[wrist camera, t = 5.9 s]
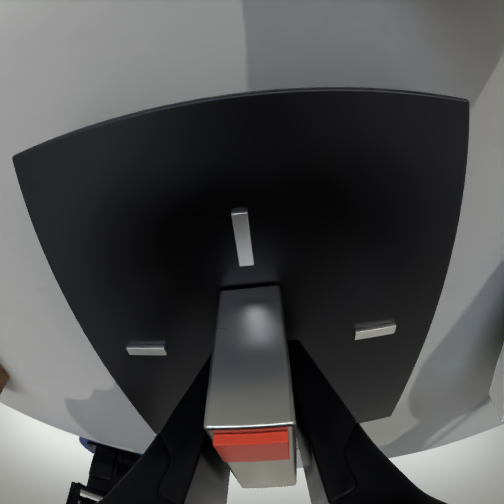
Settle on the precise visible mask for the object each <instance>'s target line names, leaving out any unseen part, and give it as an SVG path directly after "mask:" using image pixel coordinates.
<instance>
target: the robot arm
mask: <svg viewBox="0 0 504 504" xmlns="http://www.w3.org/2000/svg"><path fill="white" fill-rule="evenodd" d="M287 344H288V352H289V361H290V370H291V379H292V388H293V397H294V406H295V416H296V437H297V441H298V445H299V450H300V454H301V459H302V463H303V468H304V472H305V477H306V481H307V486H308V490H309V495H310V499H311V503H312V504H447V503H445V502H442V501H440V500H438V499H436V498H433V497H431V496H429V495H428V494H426V493H424V492H423V491H422V490H420V489H419V488H418V487H416V486H415V485H414V484H413V483H412V482H411V481H410V480H409V479H408V478H407V477H406V476H405V475H404V474H403V473H402V472H401V471H400V470H399V469H398V468H397V467H396V466H395V465H394V464H393V463H392V462H391V461H390V460H389V459H388V458H387V457H386V456H385V455H384V454H383V453H382V452H381V451H380V449H379V448H378V447H377V446H376V445H375V444H374V443H373V441H372V440H371V439H370V438H369V436H368V435H367V434H366V432H365V431H364V430H363V428H362V427H361V426H360V424H359V423H357V420H356V419H355V418H354V416H353V415H352V413H351V412H350V411H349V409H348V408H347V406H346V405H345V404H344V402H343V401H342V399H341V398H340V397H339V395H338V394H337V393H336V391H335V390H334V388H333V387H332V386H331V384H330V383H329V381H328V380H327V379H326V377H325V376H324V374H323V373H322V372H321V370H320V369H319V367H318V366H317V365H316V363H315V362H314V360H313V359H312V358H311V356H310V355H309V353H308V352H307V350H306V349H305V348H304V346H303V345H302V343H301V342H300V341H299V340H298V339H295V340H287ZM211 356H212V353H211V355H210V356H209V358H208V359H207V361H206V362H205V364H204V365H203V367H202V369H201V370H200V372H199V373H198V375H197V376H196V378H195V379H194V381H193V382H192V384H191V385H190V387H189V388H188V390H187V391H186V393H185V394H184V396H183V397H182V399H181V400H180V402H179V403H178V405H177V406H176V408H175V409H174V411H173V412H172V414H171V415H170V417H169V418H168V420H167V421H166V423H165V424H164V426H163V427H162V428H161V430H160V432H159V433H160V434H157V436H156V437H155V439H154V440H153V442H152V443H151V444H150V446H149V447H148V448H147V450H146V451H145V453H144V454H143V455H142V456H139V455H138V454H137V453H136V452H132V451H128V450H124V449H120V448H116V447H112V446H109V445H105V444H100V443H95V442H90V441H88V442H87V445H88V446H89V447H90V448H91V449H93V450H94V451H95V452H94V456H93V460H92V463H91V467H90V471H89V479H88V483H87V486H84V485H82V484H81V483H75V482H72V483H71V487H70V492H69V495H68V499H67V502H66V504H79V503H80V504H226V503H227V494H228V485H229V475H230V469H229V467H228V466H227V464H226V463H225V462H223V460H222V459H221V457H220V455H219V454H218V452H217V451H216V449H215V448H214V446H213V442H212V441H211V439H210V437H209V436H208V434H207V432H206V431H205V429H204V418H205V409H206V400H207V391H208V382H209V373H210V364H211ZM80 493H83V494H85V495H88V496H91V497H93V498H96V499H99V500H100V501H98V502H97V501H95V500H92V499H89V498H87V497H86V498H85V497H82V496H80Z"/></svg>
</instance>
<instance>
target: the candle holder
mask: <svg viewBox="0 0 504 504" xmlns="http://www.w3.org/2000/svg"><path fill="white" fill-rule="evenodd" d="M489 395H490V397H491V399H492V401H493V403H494V405H495V407H496V410H497V412H498V414H499V416H500V418H501V421H503V422H504V343H503V346H502V349H501V352H500V355H499V358H498V361H497V364H496V368H495V372H494V376H493V380H492V383H491V387H490V390H489Z"/></svg>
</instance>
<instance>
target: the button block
mask: <svg viewBox="0 0 504 504" xmlns="http://www.w3.org/2000/svg"><path fill="white" fill-rule="evenodd" d="M8 379H9V375H8V374H7V373H6V372H5V371H4V369H3V368H2V367H1V366H0V394H1V392H2V390H3V388H4V386H5V384H6V383H7V381H8Z"/></svg>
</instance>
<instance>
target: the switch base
mask: <svg viewBox="0 0 504 504" xmlns="http://www.w3.org/2000/svg"><path fill="white" fill-rule="evenodd" d="M468 138H469V101H468V100H467V99H463V98H458V97H452V96H446V95H440V94H433V93H426V92H418V91H408V90H397V89H383V88H363V87H309V88H288V89H273V90H262V91H252V92H243V93H234V94H227V95H220V96H213V97H207V98H201V99H195V100H189V101H184V102H179V103H174V104H169V105H164V106H160V107H155V108H151V109H147V110H143V111H139V112H135V113H131V114H127V115H124V116H120V117H116V118H113V119H109V120H106V121H103V122H99V123H96V124H93V125H90V126H87V127H84V128H81V129H78V130H75V131H72V132H69V133H67V134H64V135H61V136H59V137H56V138H53V139H51V140H48V141H46V142H43V143H41V144H39V145H36V146H34V147H32V148H29V149H27V150H25V151H22V152H20V153H18V154H16V155H14V156H13V163H14V167H15V171H16V174H17V178H18V181H19V185H20V188H21V191H22V194H23V198H24V201H25V204H26V207H27V209H28V212H29V215H30V218H31V221H32V223H33V226H34V229H35V231H36V234H37V236H38V239H39V241H40V244H41V246H42V249H43V251H44V254H45V256H46V258H47V260H48V263H49V265H50V267H51V269H52V272H53V274H54V276H55V278H56V280H57V282H58V284H59V286H60V288H61V290H62V292H63V294H64V296H65V298H66V300H67V302H68V304H69V306H70V308H71V310H72V312H73V313H74V315H75V317H76V319H77V321H78V322H79V324H80V326H81V328H82V329H83V331H84V333H85V335H86V336H87V338H88V340H89V341H90V343H91V345H92V346H93V348H94V349H95V351H96V353H97V354H98V356H99V357H100V359H101V360H102V362H103V364H104V365H105V367H106V368H107V370H108V371H109V373H110V374H111V375H112V377H113V378H114V380H115V381H116V383H117V384H118V386H119V387H120V388H121V390H122V391H123V392H124V394H125V395H126V397H127V398H128V399H129V401H130V402H131V403H132V405H133V406H134V407H135V408H136V410H137V411H138V412H139V414H140V415H141V416H142V417H143V419H144V420H145V421H146V422H147V424H148V425H149V426H150V427H151V428H152V430H153V431H154V432H155V433H156V434H160V433H159V432H160V430H161V428H162V427H163V426H164V424H165V423H166V421H167V420H168V418H169V417H170V415H171V414H172V412H173V411H174V409H175V408H176V406H177V405H178V403H179V402H180V400H181V399H182V397H183V396H184V394H185V393H186V391H187V390H188V388H189V387H190V385H191V384H192V382H193V381H194V379H195V378H196V376H197V375H198V373H199V372H200V370H201V369H202V367H203V365H204V364H205V362H206V361H207V359H208V358H209V356H210V355H211V353H212V348H213V340H214V332H215V324H216V316H217V308H218V301H219V294H220V291H222V290H232V289H243V288H253V287H263V286H273V285H278V286H279V287H280V288H281V295H282V303H283V311H284V319H285V327H286V335H287V340H295V339H298V340H299V341H300V342H301V343H302V345H303V346H304V348H305V349H306V350H307V352H308V353H309V355H310V356H311V358H312V359H313V360H314V362H315V363H316V365H317V366H318V367H319V369H320V370H321V372H322V373H323V374H324V376H325V377H326V379H327V380H328V381H329V383H330V384H331V386H332V387H333V388H334V390H335V391H336V393H337V394H338V395H339V397H340V398H341V399H342V401H343V402H344V404H345V405H346V406H347V408H348V409H349V411H350V412H351V413H352V415H353V416H354V418H355V419H356V420H357V423H362V422H367V421H372V420H376V419H381V418H385V417H389V416H391V415H392V413H393V411H394V409H395V407H396V405H397V403H398V401H399V399H400V397H401V395H402V393H403V391H404V389H405V386H406V384H407V382H408V380H409V378H410V375H411V373H412V371H413V369H414V366H415V364H416V362H417V359H418V357H419V354H420V352H421V349H422V347H423V344H424V342H425V339H426V336H427V334H428V331H429V328H430V325H431V322H432V320H433V317H434V314H435V311H436V308H437V305H438V301H439V298H440V295H441V292H442V288H443V285H444V281H445V278H446V274H447V270H448V266H449V262H450V258H451V254H452V250H453V246H454V241H455V236H456V232H457V227H458V221H459V216H460V210H461V204H462V197H463V190H464V183H465V174H466V165H467V153H468Z"/></svg>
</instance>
